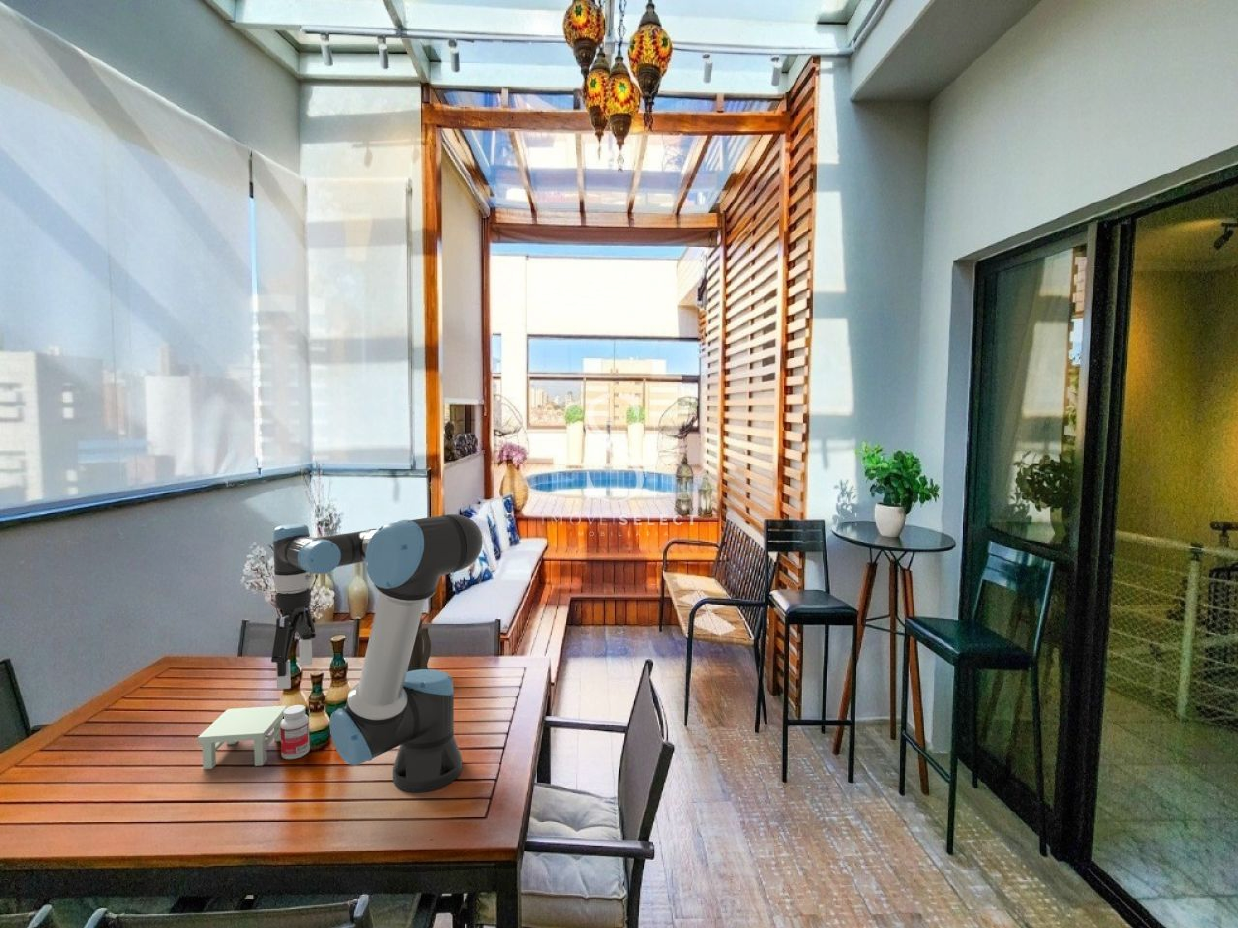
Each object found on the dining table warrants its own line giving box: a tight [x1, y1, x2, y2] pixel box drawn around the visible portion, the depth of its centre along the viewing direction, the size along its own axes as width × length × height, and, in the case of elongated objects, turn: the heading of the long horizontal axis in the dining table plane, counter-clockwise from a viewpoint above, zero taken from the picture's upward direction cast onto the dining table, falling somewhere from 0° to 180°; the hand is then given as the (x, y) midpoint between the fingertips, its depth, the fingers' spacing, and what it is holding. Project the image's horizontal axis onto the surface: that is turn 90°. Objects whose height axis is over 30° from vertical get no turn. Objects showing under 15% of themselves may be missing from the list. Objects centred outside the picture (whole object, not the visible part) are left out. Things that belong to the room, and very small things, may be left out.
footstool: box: [197, 705, 288, 770], centre depth 148 cm, size 14×14×8 cm
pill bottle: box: [280, 704, 311, 760], centre depth 147 cm, size 6×6×11 cm
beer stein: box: [407, 617, 432, 672], centre depth 189 cm, size 15×11×20 cm
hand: (295, 676), depth 147 cm, fingers open, 13 cm apart
